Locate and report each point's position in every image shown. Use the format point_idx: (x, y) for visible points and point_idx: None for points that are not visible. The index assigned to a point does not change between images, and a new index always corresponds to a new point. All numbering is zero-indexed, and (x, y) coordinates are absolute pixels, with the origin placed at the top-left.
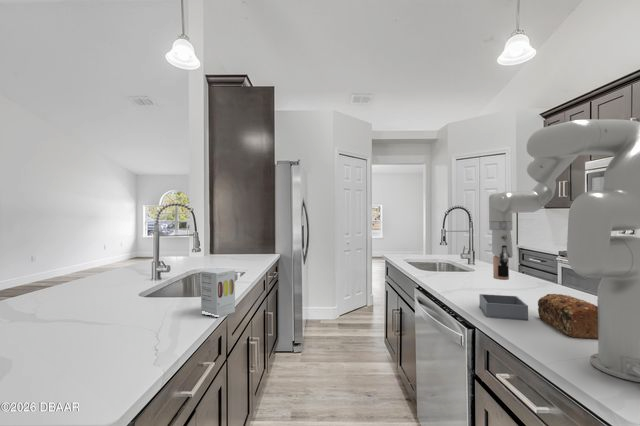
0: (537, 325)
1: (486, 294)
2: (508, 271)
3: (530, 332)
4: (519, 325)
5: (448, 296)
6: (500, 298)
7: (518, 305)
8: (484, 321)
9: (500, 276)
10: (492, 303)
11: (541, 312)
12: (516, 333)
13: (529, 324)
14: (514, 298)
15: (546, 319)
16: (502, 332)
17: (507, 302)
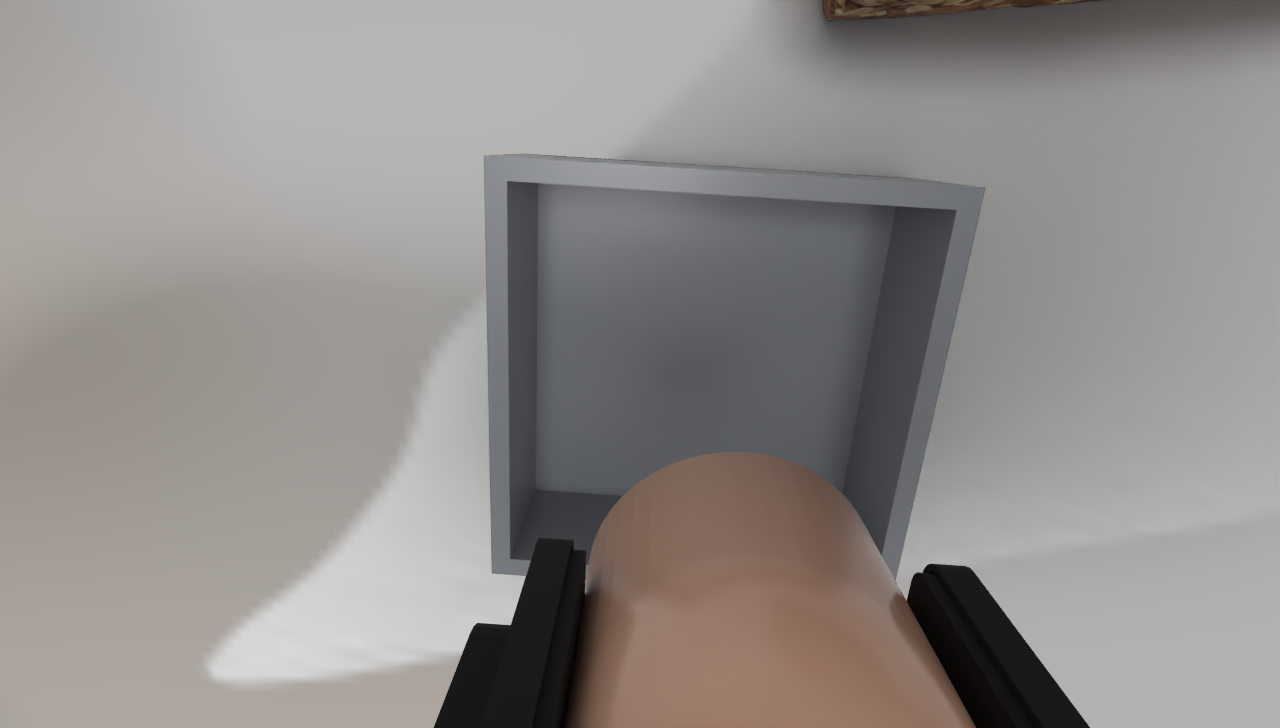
0: (1063, 146)
1: (492, 506)
2: (877, 593)
3: (1244, 287)
4: (1061, 315)
5: (237, 672)
6: (518, 352)
7: (957, 295)
8: (960, 556)
9: None
10: (896, 547)
11: (916, 5)
12: (1255, 407)
13: (1033, 213)
14: (513, 191)
15: (1005, 4)
16: (1223, 500)
17: (526, 267)
